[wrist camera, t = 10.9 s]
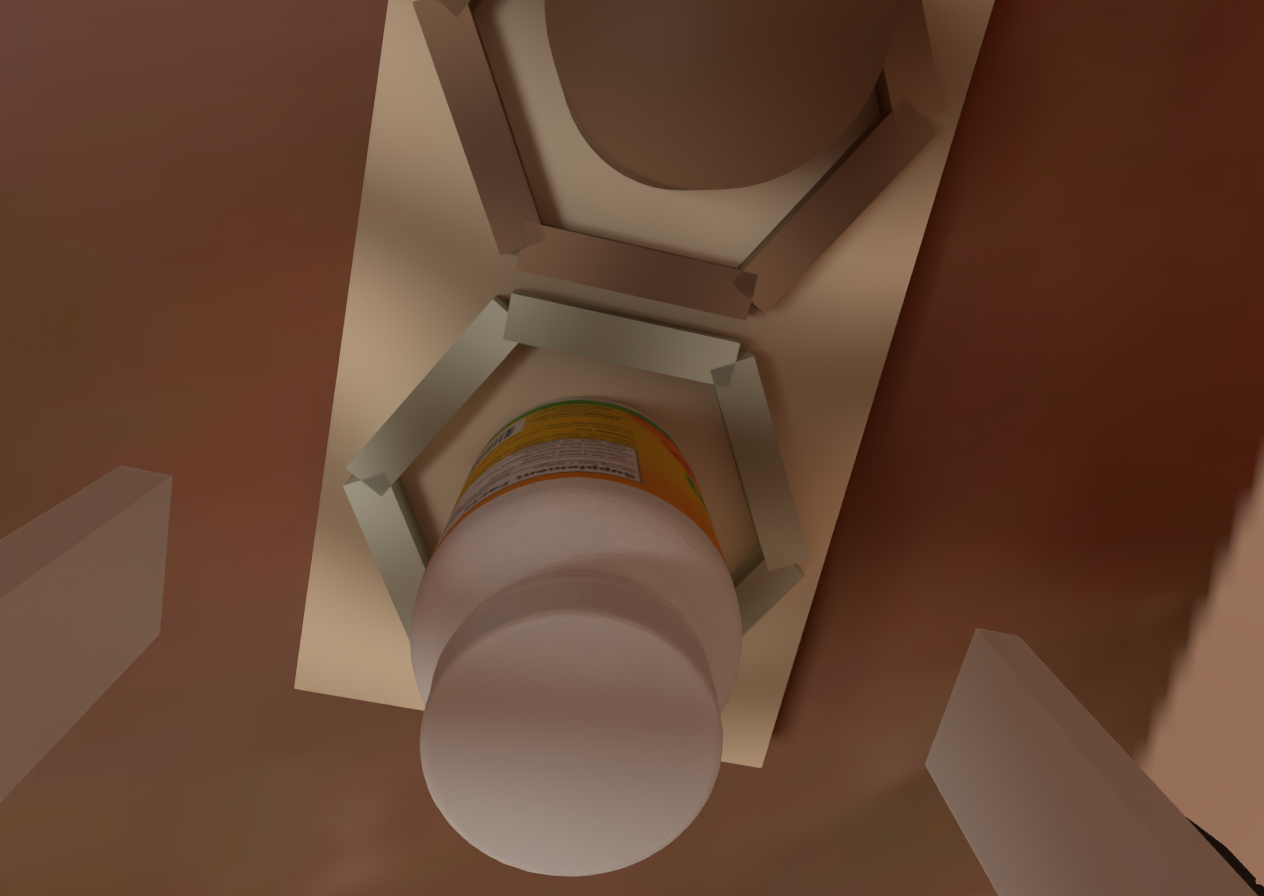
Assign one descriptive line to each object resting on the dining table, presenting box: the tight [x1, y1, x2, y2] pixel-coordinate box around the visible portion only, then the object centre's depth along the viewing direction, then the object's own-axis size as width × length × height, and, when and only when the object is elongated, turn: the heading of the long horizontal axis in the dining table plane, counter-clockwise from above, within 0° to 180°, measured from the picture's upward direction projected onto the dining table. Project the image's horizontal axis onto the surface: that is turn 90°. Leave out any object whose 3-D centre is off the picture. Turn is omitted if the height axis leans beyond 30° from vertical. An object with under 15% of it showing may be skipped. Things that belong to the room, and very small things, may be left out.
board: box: [294, 0, 995, 768], centre depth 20 cm, size 22×12×2 cm, turn 167°
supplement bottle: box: [410, 397, 742, 876], centre depth 16 cm, size 5×5×10 cm
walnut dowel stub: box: [544, 0, 897, 190], centre depth 15 cm, size 5×5×6 cm
